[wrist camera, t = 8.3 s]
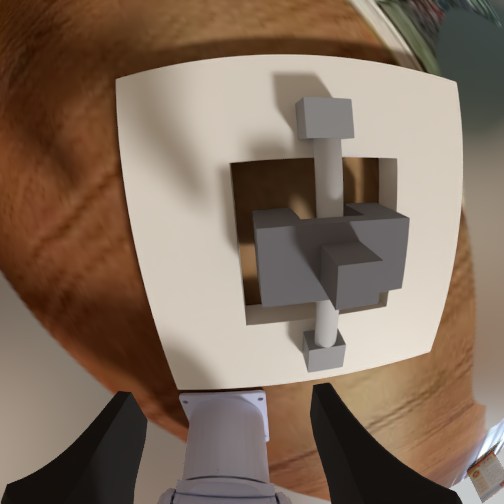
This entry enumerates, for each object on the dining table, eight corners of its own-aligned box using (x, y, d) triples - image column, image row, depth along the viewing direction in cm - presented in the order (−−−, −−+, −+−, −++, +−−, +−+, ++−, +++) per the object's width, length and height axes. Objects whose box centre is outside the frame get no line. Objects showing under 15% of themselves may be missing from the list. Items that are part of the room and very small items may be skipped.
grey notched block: (372, 261, 17) (424, 311, 11) (257, 273, 17) (267, 338, 11) (375, 202, 16) (438, 232, 10) (252, 210, 16) (260, 248, 10)
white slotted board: (417, 336, 22) (440, 365, 18) (182, 368, 22) (173, 408, 18) (436, 86, 14) (474, 79, 10) (131, 87, 14) (100, 71, 10)
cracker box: (467, 472, 57) (482, 503, 38) (466, 471, 56) (482, 503, 36) (492, 452, 54) (509, 482, 35) (493, 450, 53) (510, 481, 33)
